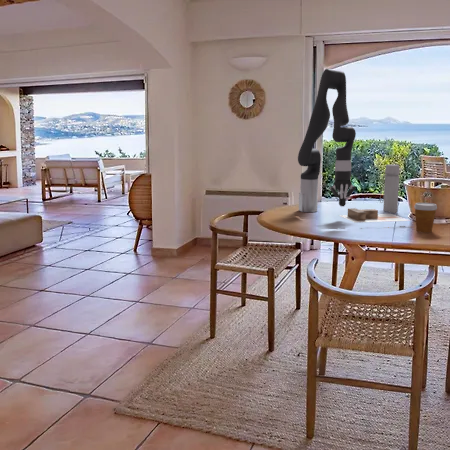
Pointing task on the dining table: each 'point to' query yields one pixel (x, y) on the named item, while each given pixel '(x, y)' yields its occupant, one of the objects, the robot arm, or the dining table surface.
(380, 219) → the board
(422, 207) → the disposable coffee cup
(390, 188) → the water bottle
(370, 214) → the tee block
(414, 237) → the dining table surface
